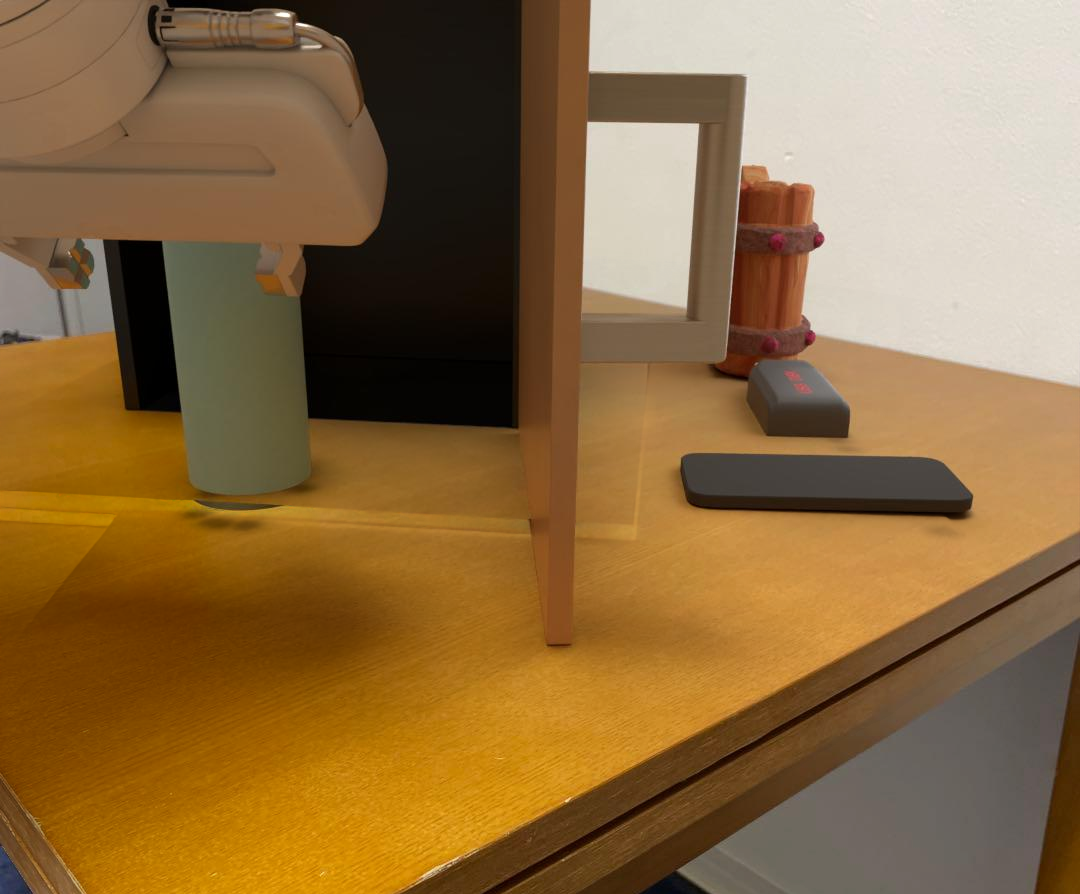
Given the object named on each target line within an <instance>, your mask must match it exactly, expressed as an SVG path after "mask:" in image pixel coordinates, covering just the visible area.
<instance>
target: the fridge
mask: <svg viewBox="0 0 1080 894" xmlns="http://www.w3.org/2000/svg"><path fill="white" fill-rule="evenodd" d="M166 1H167V4H168V7H169V8H206V9H216V10H223V11H230V12H252V11H253V10H255V9H264V8H270V9H281V10H287V11H290V12H294V13H296V15H297V16H298V18H299V21H300V23H304V24H309V25H312V26H315V27H317V28H320V29H322V30H324V31H326V32H328V33H329V34H331V35H332V36H336V37H339V38H341V39H342V40H343V41H344V42H345V43H346V44H347V46H348V47H349V49H350V51H351V53H352V55H353V58H354V61H355V65H356V68H357V71H358V75H359V78H360V82H361V86H362V90H363V93H364V104H365V106H366V108H367V110H368V113H369V115H370V117H371V119H372V121H373V124H374V126H375V129H376V131H377V133H378V136H379V139H380V141H381V144H382V147H383V150H384V153H385V156H386V160H387V166H388V174H387V186H386V193H385V199H384V205H383V210H382V214H381V218H380V221H379V224H378V226H377V228H376V229H375V230H374V231H373V233H372V234H371V235H370V236H369V237H368V238H367V239H366V240H365V241H364V242H363V243H362V244H360V245H355V246H335V245H304V248H303V253H302V256H303V258H304V260H305V266H306V275H305V279H304V284H303V289H302V294H301V295H300V306H301V321H302V335H303V350H304V365H305V379H306V394H307V409H308V420H322V421H323V420H324V421H343V422H344V421H345V422H346V421H347V422H362V423H363V422H364V423H365V422H366V423H368V422H369V423H383V424H384V423H385V424H387V423H388V424H405V425H406V424H408V425H426V426H427V425H429V426H449V427H450V426H451V427H471V428H490V429H491V428H492V429H512V430H513V429H514V430H518V417H519V292H520V167H521V41H522V0H166ZM102 245H103V253H104V259H105V267H106V275H107V282H108V290H109V297H110V304H111V312H112V320H113V326H114V327H113V328H114V335H115V341H116V348H117V358H118V365H119V371H120V372H119V373H120V380H121V386H122V387H121V389H122V394H123V402H124V408H125V410H126V411H134V412H156V413H177V414H182V412H181V403H180V394H179V385H178V376H177V368H176V359H175V350H174V341H173V333H172V324H171V315H170V306H169V297H168V289H167V280H166V271H165V262H164V253H163V245H162V241H150V240H111V239H102Z"/></svg>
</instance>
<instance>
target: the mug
mask: <svg viewBox="0 0 1080 894" xmlns="http://www.w3.org/2000/svg"><path fill="white" fill-rule="evenodd" d="M815 193H816V190H815V188H814V187H813V186H812V184H808V183H801V182H793V183H791V184H789V183H787V182H786V181H784V180H783V181H782V180H770V174H769V172H768V169H767V167H766V166H764V165H755V164H751V165H742V168H741V180H740V192H739V205H738V217H737V229H736V241H735V254H734V266H733V278H732V291H731V303H730V315H729V327H728V340H727V352H726V359H725V361H723V362H720V363H713V365H714V366H715V368H716V369H717V370H719V372H721V373H725V374H727V375H729V376H730V375H731V376H735V377H744V378H747V379H749V372H750V371H751V370H752V369H753V367H754V366H755V364H756V363H759V362H760V361H761V360H798V354H800V353H803V352H804V351H805V350H806V349H807V348H808V347H810V346H812V345H813V344H814V342H815V341H816V337H817V336H816V332H814V330H812V329H811V325H812V324H811V322H810V320H809V319H808V318H807V317H806V316H805V315H804V314H803V307H804V297H805V289H806V281H807V275H808V274H807V273H808V268H809V261H810V260H809V259H810V253H811V252H813V251H815V250H816V249H818V248H820V247H822V245H823V244H824V243H825V235H824V234H823V232H822V231H820V227H819V225H818V223H817V222H815V221H814V220H813V215H814V204H815V203H814V200H815ZM733 374H734V375H733Z"/></svg>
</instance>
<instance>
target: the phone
mask: <svg viewBox="0 0 1080 894" xmlns="http://www.w3.org/2000/svg"><path fill="white" fill-rule="evenodd" d="M679 470H680V475H681V479H682V484H683V489H684V493H685V497H686V499H687V501H688V502H689V503H690V504H691V505H694V506H698V507H702V508H716V509H717V508H719V509H760V510H761V509H763V510H764V509H765V510H809V511H811V510H815V511H817V510H818V511H857V512H858V511H860V512H861V511H865V512H867V511H868V512H907V513H909V512H910V513H911V512H912V513H913V512H914V513H915V512H917V513H964V512H967V511H971V509H972V506H973V500H974V494H973V493H972V492H971V490H970V489H969V488H968V487H967V486H966V485H965V484H964V483H963V482H962V481H961V480H960V479H959V477H957V475H955V473H954V472H953V471H952V470H951V469H950V468H949V467H948V465H946V464H945V463H944V462H943V461H941V460H939V459H935V458H932V457H926V456H925V457H924V456H902V455H901V456H898V455H897V456H895V455H894V456H892V455H891V456H890V455H847V454H846V455H841V454H840V455H839V454H838V455H837V454H788V453H786V454H785V453H784V454H783V453H782V454H781V453H777V454H776V453H736V452H735V453H733V452H731V453H730V452H692V453H687V454H684V455H682V456H681V458H680V466H679Z"/></svg>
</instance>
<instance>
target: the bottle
mask: <svg viewBox="0 0 1080 894" xmlns="http://www.w3.org/2000/svg"><path fill="white" fill-rule="evenodd" d="M162 245H163V253H164V262H165V271H166V280H167V289H168V297H169V306H170V315H171V324H172V333H173V341H174V350H175V359H176V368H177V376H178V385H179V394H180V403H181V412H182V413H181V419H182V428H183V438H184V445H185V446H184V447H185V455H186V463H187V464H186V465H187V471H188V481H189V483H190V485H191V486H193V487H194V488H196V489H197V490H200V491H203V492H207V493H211V494H216V495H224V496H225V495H226V496H251V495H252V496H253V495H262V494H263V495H264V494H270V493H275V492H280V491H284V490H288V489H292V488H293V487H296V486H299V485H301V484H303V483H305V482H306V481H308V479H310V478H311V476H312V474H313V469H312V455H311V453H312V452H311V442H310V441H311V439H310V427H309V425H310V424H309V419H308V409H307V394H306V379H305V365H304V350H303V335H302V321H301V306H300V297H292V296H272V295H265V294H264V292H263V291H262V290H263V286H262V285H260V284H259V283H258V281H257V279H256V277H255V275H254V274H255V269H256V264H257V261H258V260H259V259H260V258H261V255H260V253H259V251H260V247H261V243H225V242H188V241H162ZM193 501H194V502H195V503H197V504H198V505H200V506H203V507H207V508H210V509H215V510H222V511H234V512H237V511H238V512H241V511H242V512H243V511H245V512H247V511H248V512H249V511H259V510H267V509H274V508H279V507H283V506H284V504H271V503H269V504H268V503H255V502H254V503H253V502H252V503H251V502H236V501H235V502H234V501H233V502H231V501H217V500H199V499H195V500H193Z"/></svg>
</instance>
